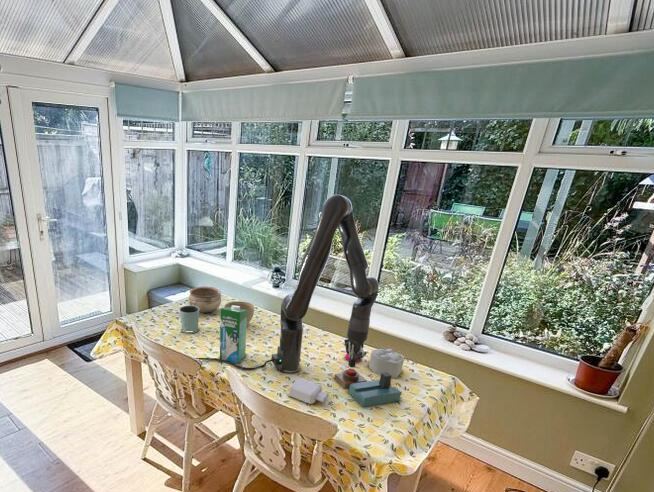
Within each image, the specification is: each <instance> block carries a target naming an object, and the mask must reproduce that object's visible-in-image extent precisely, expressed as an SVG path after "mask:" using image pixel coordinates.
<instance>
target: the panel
mask: <svg viewBox="0 0 654 492" xmlns="http://www.w3.org/2000/svg"><path fill="white" fill-rule="evenodd" d="M347 371H348V369H345V370H343V372H340V373H339V372H338V373H335V374H334V380H335V381H336V382H338V384H339V385H341V386H342V388H343V389H349V388H350V384H353V383H360V382H367V381H368V380H367V379H366V378H365V377H364V376H362V375H361V374H360V372H358V371H357V370H356V374H355V376H350V375H348V374H347Z"/></svg>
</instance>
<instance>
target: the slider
mask: <svg viewBox="0 0 654 492" xmlns="http://www.w3.org/2000/svg"><path fill="white" fill-rule="evenodd" d="M391 377H392V375H390V374H389V373H388V372H384V373H381V375H380V376H379V380H380V382H379V385H380V389H385V388H388V387H390V383H391V381H392V378H391Z"/></svg>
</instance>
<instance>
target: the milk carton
mask: <svg viewBox="0 0 654 492" xmlns="http://www.w3.org/2000/svg"><path fill="white" fill-rule="evenodd" d="M219 313H220V316H219V317H220V318H219V321H220V323H219V325H220V326H219V331H220V332H219V359H222V360H226V361H230V362H232V363H234V364H236V365H238V364H239V363H241V361H242V360H243V359H244V357H246V350H247V349H246V348H247V347H246V346H247V327H248V326H247V310H244V309H240V306H234V305H232V306H231V307H225V308H224V307H221V308H220V312H219Z"/></svg>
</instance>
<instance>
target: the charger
mask: <svg viewBox="0 0 654 492" xmlns="http://www.w3.org/2000/svg"><path fill="white" fill-rule="evenodd" d="M288 392H289V393H288V396H289V397H292V398H294V399H296V400H300V401H302V402H305V403H307V404H309V405H311V404H315V403H316V401H319V402H321V403H325V402H326V401H327V402H331V400H333V398H332V397H330V396H329V393H327V392H323V386H322V385H321V384H319V383H316V382H313V381H311V380H308V379H306V378H302V377H298V379H297V380H295V381H294V382H293V383H292V384H291V385H290V387H289V391H288Z"/></svg>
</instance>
